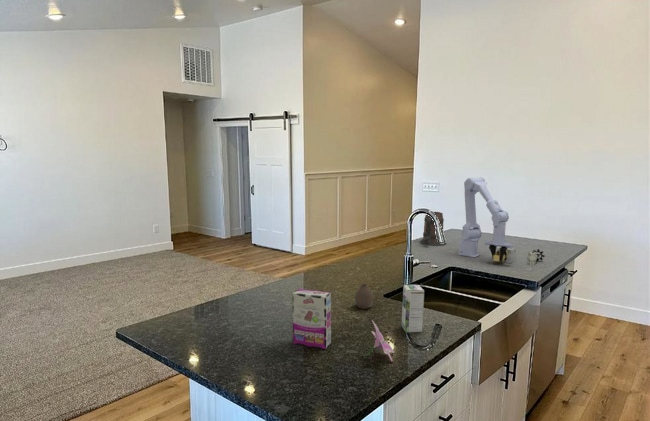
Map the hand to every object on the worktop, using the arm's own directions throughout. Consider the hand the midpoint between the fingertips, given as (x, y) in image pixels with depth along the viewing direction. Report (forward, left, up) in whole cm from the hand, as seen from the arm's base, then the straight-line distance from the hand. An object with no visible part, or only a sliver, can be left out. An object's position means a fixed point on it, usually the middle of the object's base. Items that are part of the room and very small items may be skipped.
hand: (497, 259), depth 226 cm
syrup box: (+7, -103, -2) cm, 103 cm away
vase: (-17, -97, -2) cm, 99 cm away
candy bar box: (-11, -133, -2) cm, 133 cm away
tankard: (-48, +21, -2) cm, 53 cm away
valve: (+14, +15, -3) cm, 21 cm away
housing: (0, +10, -2) cm, 10 cm away
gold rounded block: (0, +3, -2) cm, 4 cm away
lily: (+10, -127, -2) cm, 127 cm away
